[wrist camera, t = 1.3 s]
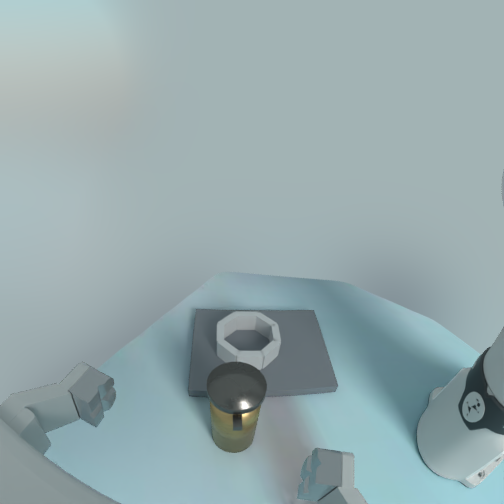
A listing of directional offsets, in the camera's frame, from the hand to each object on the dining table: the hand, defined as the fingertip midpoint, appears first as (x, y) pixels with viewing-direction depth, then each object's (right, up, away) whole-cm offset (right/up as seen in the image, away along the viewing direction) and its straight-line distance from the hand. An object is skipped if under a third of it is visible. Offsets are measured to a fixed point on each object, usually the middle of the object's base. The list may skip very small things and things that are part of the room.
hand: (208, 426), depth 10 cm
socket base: (+3, -9, +33) cm, 35 cm away
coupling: (-1, -16, +21) cm, 26 cm away
